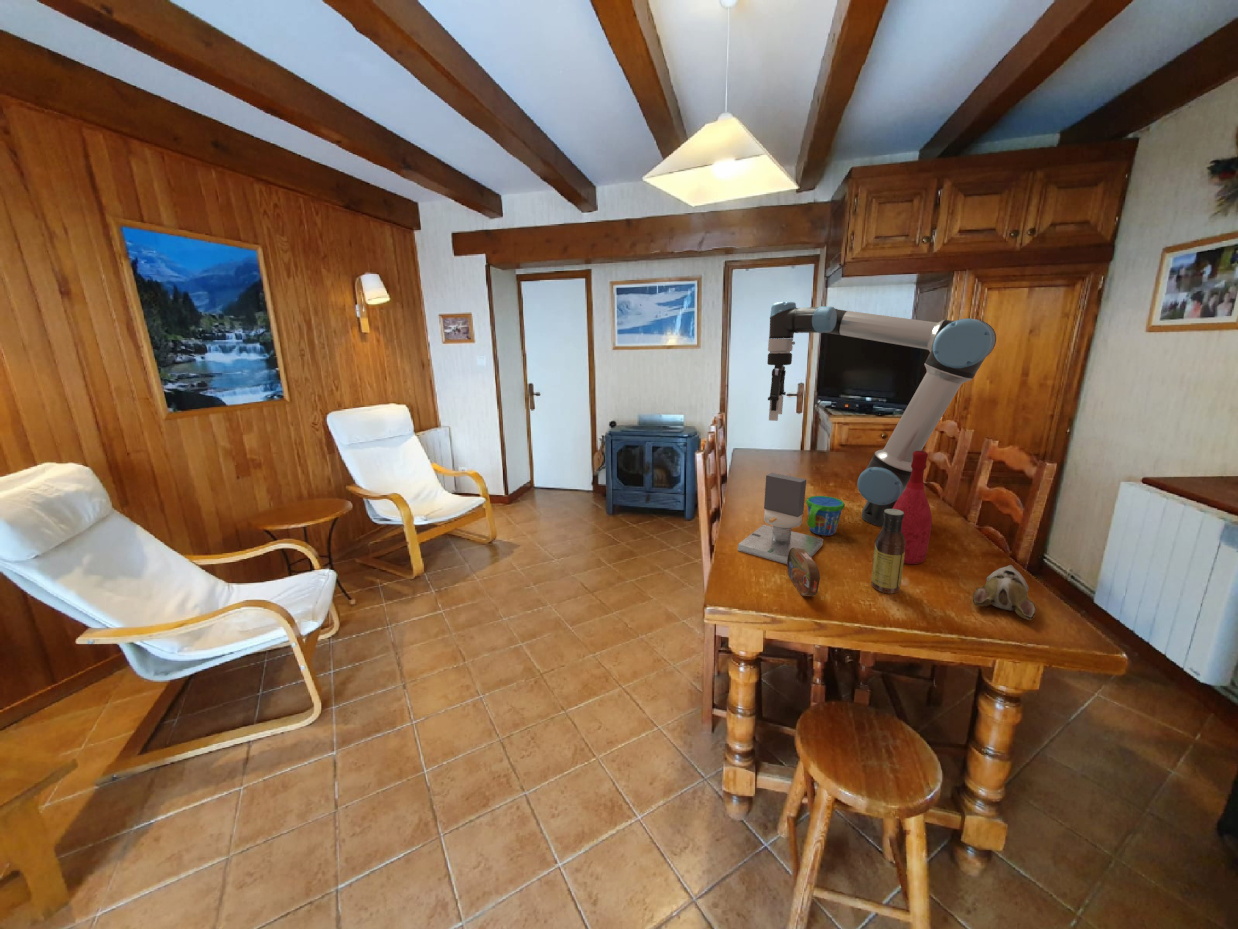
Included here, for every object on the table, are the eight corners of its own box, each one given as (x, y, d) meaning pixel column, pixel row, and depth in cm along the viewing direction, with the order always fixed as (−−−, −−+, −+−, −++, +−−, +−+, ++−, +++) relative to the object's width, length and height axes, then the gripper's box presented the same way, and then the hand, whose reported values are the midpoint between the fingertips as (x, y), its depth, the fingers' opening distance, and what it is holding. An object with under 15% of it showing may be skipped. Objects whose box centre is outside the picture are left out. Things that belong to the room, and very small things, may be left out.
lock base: (822, 545, 136) (825, 519, 134) (801, 568, 122) (804, 540, 120) (763, 530, 147) (764, 506, 145) (737, 550, 133) (739, 524, 131)
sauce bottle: (883, 579, 116) (894, 504, 111) (906, 592, 110) (918, 513, 105) (863, 584, 114) (873, 508, 109) (884, 597, 108) (896, 517, 103)
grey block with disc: (774, 512, 139) (777, 470, 136) (807, 520, 132) (811, 476, 129) (753, 524, 131) (756, 479, 127) (787, 533, 124) (791, 487, 120)
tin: (785, 571, 121) (787, 541, 119) (797, 571, 121) (800, 541, 119) (805, 603, 107) (809, 570, 104) (819, 603, 106) (823, 570, 104)
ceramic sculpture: (1043, 565, 104) (1040, 596, 93) (1035, 599, 106) (1032, 633, 96) (983, 552, 111) (974, 579, 100) (977, 584, 113) (968, 614, 103)
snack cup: (822, 520, 153) (825, 491, 151) (852, 531, 145) (856, 500, 142) (791, 532, 145) (794, 501, 142) (822, 543, 137) (825, 511, 134)
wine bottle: (890, 546, 134) (904, 445, 126) (930, 557, 127) (948, 450, 119) (878, 558, 127) (893, 451, 119) (920, 569, 120) (938, 457, 113)
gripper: (788, 353, 139) (783, 424, 144) (795, 351, 161) (790, 412, 166) (762, 353, 142) (758, 422, 147) (772, 351, 164) (768, 411, 169)
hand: (775, 417), depth 157 cm, fingers open, 13 cm apart
